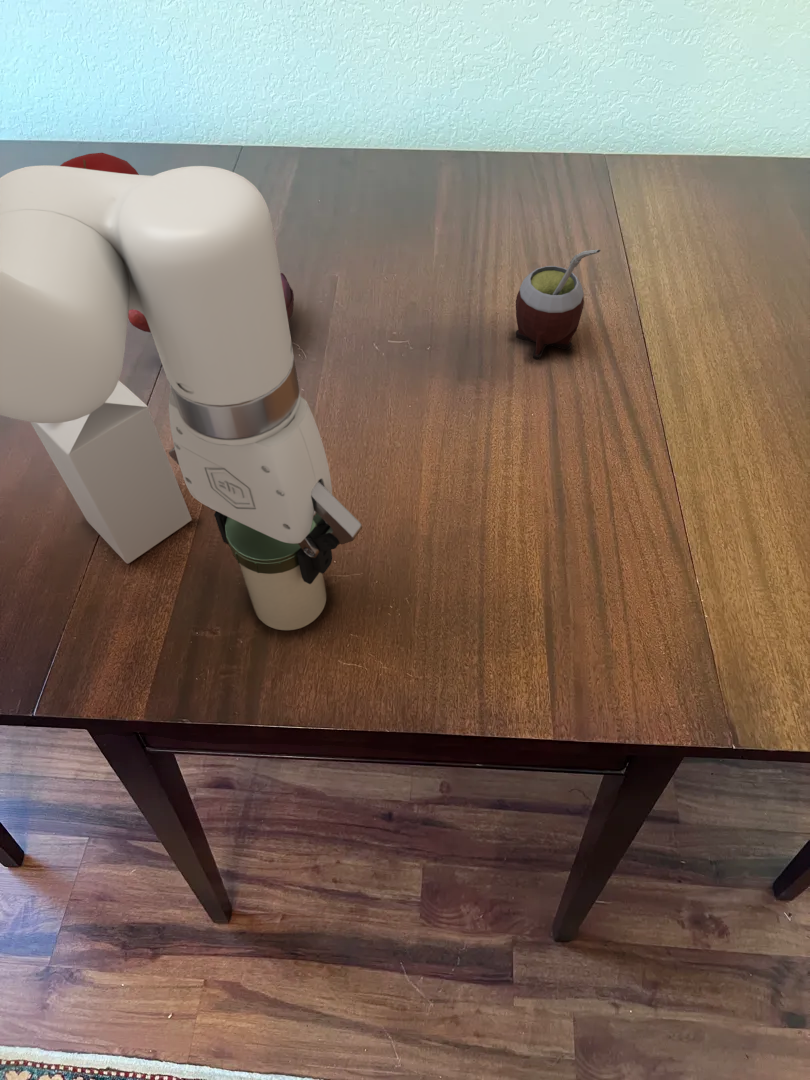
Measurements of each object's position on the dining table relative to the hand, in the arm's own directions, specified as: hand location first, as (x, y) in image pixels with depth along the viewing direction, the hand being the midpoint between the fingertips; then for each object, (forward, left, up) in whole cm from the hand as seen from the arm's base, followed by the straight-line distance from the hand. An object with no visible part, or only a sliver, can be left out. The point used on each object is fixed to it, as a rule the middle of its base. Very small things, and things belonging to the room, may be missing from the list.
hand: (277, 549), depth 62 cm
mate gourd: (+29, +30, -8) cm, 42 cm away
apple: (-20, +50, -8) cm, 54 cm away
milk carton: (-14, +10, -8) cm, 19 cm away
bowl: (-6, +34, -8) cm, 35 cm away
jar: (0, 0, -8) cm, 8 cm away
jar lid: (0, 0, +3) cm, 3 cm away
